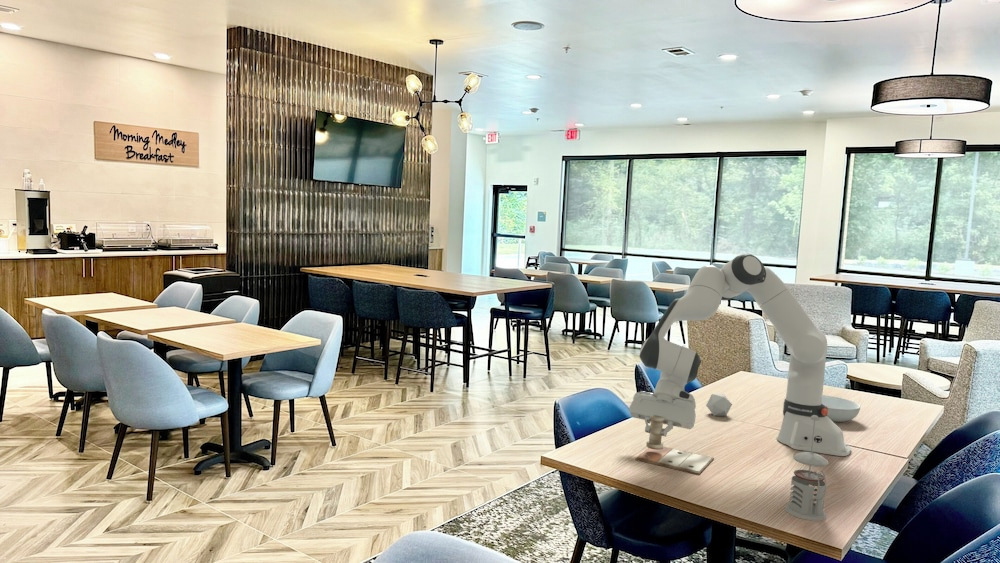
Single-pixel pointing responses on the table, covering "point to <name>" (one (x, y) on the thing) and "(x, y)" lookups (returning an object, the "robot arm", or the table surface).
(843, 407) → the serving bowl
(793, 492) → the french press
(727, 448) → the table surface
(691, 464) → the game board
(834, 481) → the table surface
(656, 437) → the beige flanged column
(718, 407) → the die
